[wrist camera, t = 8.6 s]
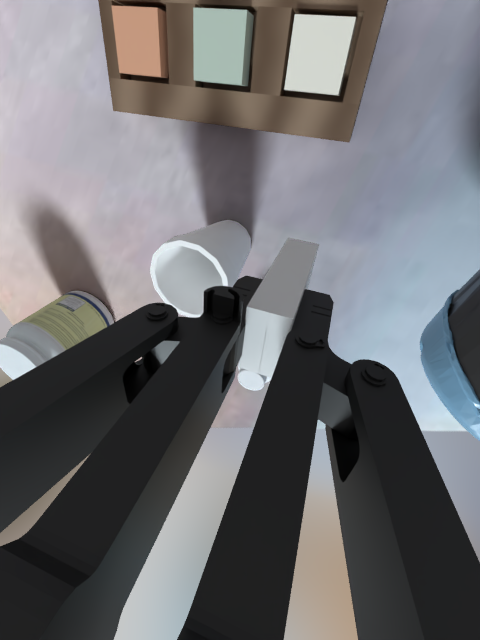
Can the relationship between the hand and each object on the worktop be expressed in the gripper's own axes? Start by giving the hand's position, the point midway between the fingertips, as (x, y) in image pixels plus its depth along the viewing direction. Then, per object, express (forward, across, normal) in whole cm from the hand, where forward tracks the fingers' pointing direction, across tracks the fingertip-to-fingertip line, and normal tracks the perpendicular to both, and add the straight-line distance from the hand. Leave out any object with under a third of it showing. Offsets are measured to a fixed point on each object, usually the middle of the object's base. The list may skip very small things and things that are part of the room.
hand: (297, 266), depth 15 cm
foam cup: (+25, +12, +10) cm, 29 cm away
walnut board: (+24, +13, -10) cm, 29 cm away
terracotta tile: (+23, +22, -10) cm, 33 cm away
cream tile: (+23, +4, -10) cm, 25 cm away
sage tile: (+22, +13, -10) cm, 27 cm away
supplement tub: (+25, +41, +32) cm, 58 cm away
